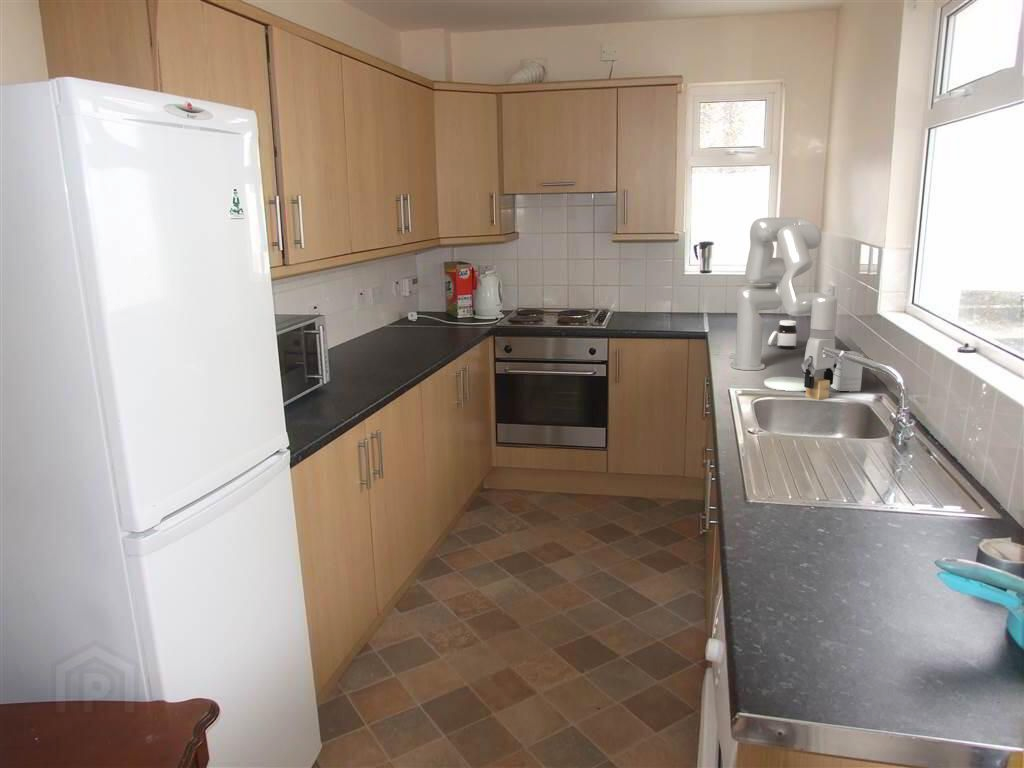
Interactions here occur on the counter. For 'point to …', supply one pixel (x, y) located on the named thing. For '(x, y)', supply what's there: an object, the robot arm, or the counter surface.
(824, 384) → the block
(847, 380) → the supplement box
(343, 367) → the counter surface
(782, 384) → the dish
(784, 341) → the spread jar
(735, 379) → the counter surface
